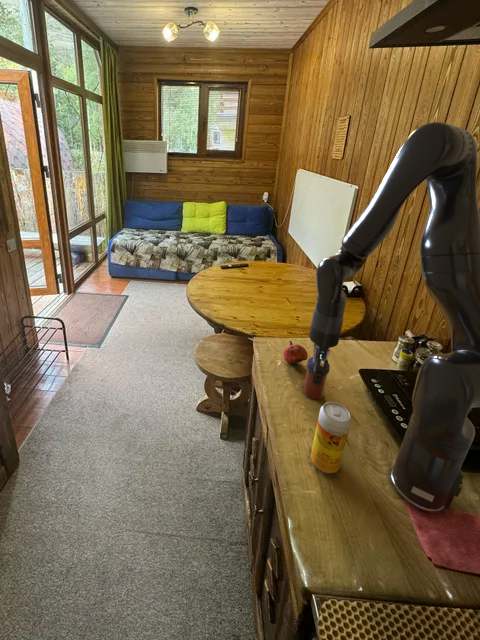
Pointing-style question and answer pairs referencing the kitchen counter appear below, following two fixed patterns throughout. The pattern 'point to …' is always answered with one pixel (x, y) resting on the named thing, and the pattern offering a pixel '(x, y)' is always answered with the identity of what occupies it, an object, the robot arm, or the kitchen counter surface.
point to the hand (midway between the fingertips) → (316, 375)
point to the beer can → (330, 437)
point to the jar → (314, 386)
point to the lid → (311, 365)
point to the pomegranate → (295, 354)
